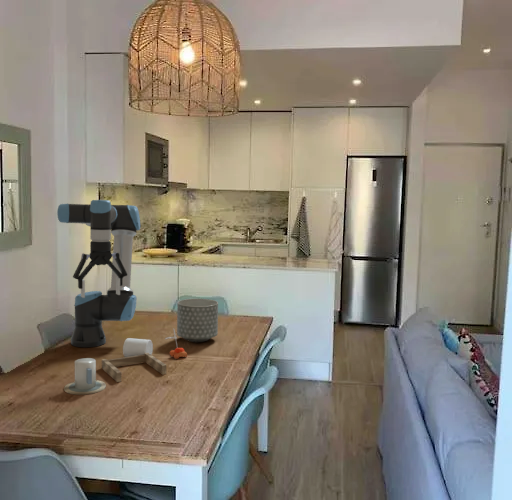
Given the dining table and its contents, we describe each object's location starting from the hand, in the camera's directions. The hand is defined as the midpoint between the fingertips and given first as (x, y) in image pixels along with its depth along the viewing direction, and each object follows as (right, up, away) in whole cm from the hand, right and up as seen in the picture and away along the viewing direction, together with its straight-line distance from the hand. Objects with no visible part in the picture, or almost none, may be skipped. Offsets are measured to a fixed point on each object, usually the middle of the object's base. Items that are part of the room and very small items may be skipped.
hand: (100, 295), depth 207 cm
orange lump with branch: (+26, -28, +20) cm, 43 cm away
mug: (+11, -28, +20) cm, 36 cm away
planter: (+32, -25, +48) cm, 63 cm away
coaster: (0, -31, -18) cm, 36 cm away
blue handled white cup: (0, -30, -19) cm, 36 cm away
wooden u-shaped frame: (+12, -29, +1) cm, 32 cm away
